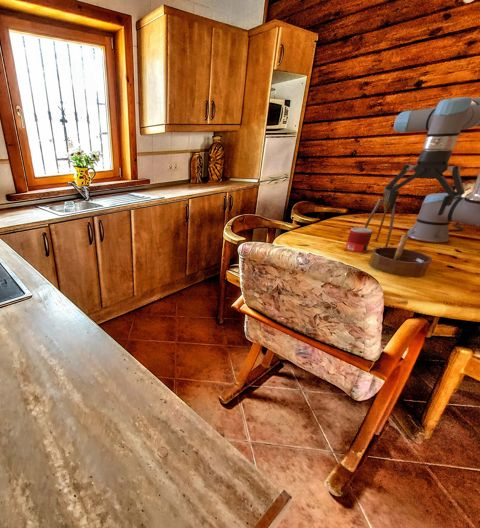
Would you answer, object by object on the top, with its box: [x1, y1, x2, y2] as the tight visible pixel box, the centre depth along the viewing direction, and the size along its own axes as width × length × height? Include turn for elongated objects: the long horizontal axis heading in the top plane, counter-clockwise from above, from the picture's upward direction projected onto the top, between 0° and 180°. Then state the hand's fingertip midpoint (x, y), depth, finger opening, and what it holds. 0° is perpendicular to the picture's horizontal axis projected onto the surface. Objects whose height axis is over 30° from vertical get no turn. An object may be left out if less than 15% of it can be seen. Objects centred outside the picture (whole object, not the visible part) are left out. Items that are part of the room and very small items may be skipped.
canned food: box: [345, 226, 373, 254], centre depth 131 cm, size 8×8×11 cm
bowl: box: [368, 246, 433, 278], centre depth 113 cm, size 18×18×6 cm
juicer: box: [363, 183, 399, 247], centre depth 135 cm, size 10×11×30 cm
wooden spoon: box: [393, 233, 409, 261], centre depth 109 cm, size 4×4×15 cm
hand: (414, 211), depth 103 cm, fingers open, 13 cm apart
